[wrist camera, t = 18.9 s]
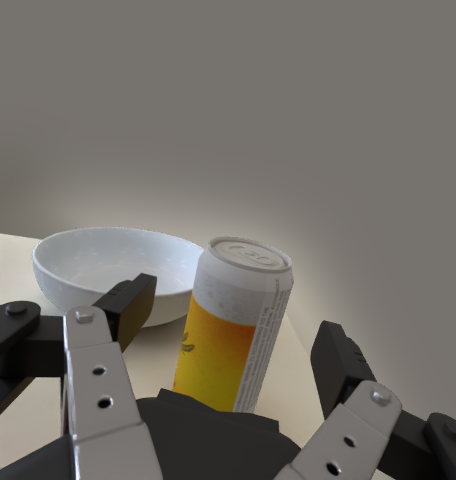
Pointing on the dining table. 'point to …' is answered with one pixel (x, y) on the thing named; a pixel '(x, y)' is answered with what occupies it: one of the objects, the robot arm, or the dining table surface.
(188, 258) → the serving bowl
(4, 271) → the dining table surface
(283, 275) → the lager tin can
